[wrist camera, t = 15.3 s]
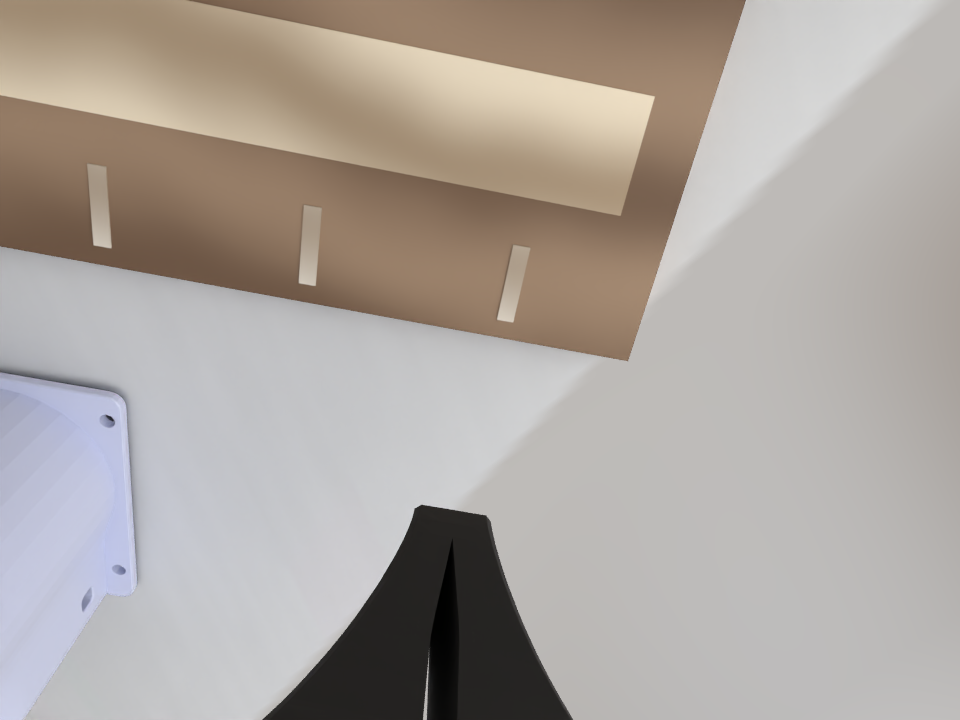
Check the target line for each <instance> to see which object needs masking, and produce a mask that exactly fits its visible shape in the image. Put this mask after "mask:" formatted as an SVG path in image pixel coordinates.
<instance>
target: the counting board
mask: <svg viewBox="0 0 960 720" xmlns="http://www.w3.org/2000/svg"><path fill="white" fill-rule="evenodd" d="M745 1H746V0H0V246H2V247H7V248H13V249H18V250H24V251H29V252H35V253H40V254H45V255H51V256H56V257H62V258H67V259H73V260H78V261H84V262H89V263H95V264H100V265H106V266H111V267H117V268H122V269H127V270H133V271H138V272H144V273H149V274H155V275H160V276H166V277H171V278H177V279H182V280H188V281H193V282H198V283H204V284H209V285H215V286H220V287H226V288H231V289H237V290H242V291H248V292H253V293H259V294H264V295H270V296H275V297H280V298H286V299H291V300H297V301H302V302H308V303H313V304H319V305H324V306H330V307H335V308H341V309H346V310H351V311H357V312H362V313H368V314H373V315H379V316H384V317H390V318H395V319H401V320H406V321H412V322H417V323H423V324H428V325H433V326H439V327H444V328H450V329H455V330H461V331H466V332H472V333H477V334H483V335H488V336H494V337H499V338H504V339H510V340H515V341H521V342H526V343H532V344H537V345H543V346H548V347H554V348H559V349H565V350H570V351H576V352H581V353H586V354H592V355H597V356H603V357H608V358H614V359H619V360H626V361H628V359H629V356H630V353H631V350H632V347H633V344H634V341H635V337H636V334H637V332H638V329H639V325H640V322H641V319H642V316H643V313H644V310H645V307H646V304H647V301H648V298H649V295H650V292H651V289H652V286H653V283H654V280H655V277H656V274H657V270H658V267H659V264H660V261H661V258H662V255H663V252H664V249H665V246H666V243H667V240H668V237H669V234H670V231H671V228H672V225H673V222H674V218H675V215H676V212H677V209H678V206H679V203H680V200H681V197H682V194H683V191H684V188H685V185H686V182H687V179H688V176H689V173H690V170H691V166H692V163H693V160H694V157H695V154H696V151H697V148H698V145H699V142H700V139H701V136H702V133H703V130H704V127H705V124H706V121H707V117H708V114H709V111H710V108H711V105H712V102H713V99H714V96H715V93H716V90H717V87H718V84H719V81H720V78H721V75H722V72H723V69H724V65H725V62H726V59H727V56H728V53H729V50H730V47H731V44H732V41H733V38H734V35H735V32H736V29H737V26H738V23H739V20H740V17H741V13H742V10H743V7H744V4H745Z"/></svg>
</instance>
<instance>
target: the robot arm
mask: <svg viewBox="0 0 960 720" xmlns="http://www.w3.org/2000/svg"><path fill="white" fill-rule="evenodd" d="M106 415H108V416H111V417H112V418H113V419H114V421H111V420H109V419H108V418H107V417H106ZM122 566H123V567H122ZM136 587H137V572H136V556H135V540H134V524H133V508H132V492H131V476H130V460H129V444H128V428H127V412H126V404H125V401H124V400H123V399H122V397H121V396H119V395H118V394H116V393H114V392H111V391H105V390H99V389H93V388H88V387H82V386H76V385H70V384H64V383H59V382H53V381H47V380H41V379H36V378H30V377H24V376H18V375H12V374H7V373H1V372H0V720H24V718H25V717H26V715H27V714H28V712H29V711H30V709H31V708H32V706H33V705H34V703H35V702H36V700H37V699H38V697H39V696H40V694H41V693H42V691H43V689H44V688H45V686H46V685H47V683H48V682H49V680H50V679H51V677H52V676H53V674H54V673H55V671H56V670H57V668H58V667H59V665H60V664H61V662H62V661H63V659H64V657H65V656H66V654H67V653H68V651H69V650H70V648H71V647H72V645H73V644H74V642H75V641H76V639H77V638H78V636H79V635H80V633H81V632H82V630H83V628H84V627H85V625H86V624H87V622H88V621H89V619H90V618H91V616H92V615H93V613H94V612H95V610H96V609H97V607H98V606H99V604H100V603H101V601H102V599H103V598H104V596H105V595H106V594H109V595H116V596H129V595H131V594H132V593H133V592H134V590H135V588H136ZM428 657H429V674H428V705H427V720H573V719H572V717H571V715H570V714H569V712H568V710H567V709H566V707H565V705H564V704H563V702H562V700H561V698H560V697H559V695H558V693H557V691H556V690H555V688H554V686H553V684H552V682H551V681H550V679H549V677H548V675H547V673H546V671H545V669H544V667H543V665H542V663H541V661H540V659H539V657H538V655H537V653H536V651H535V649H534V647H533V645H532V643H531V640H530V638H529V636H528V634H527V631H526V629H525V627H524V625H523V622H522V620H521V617H520V615H519V613H518V610H517V607H516V605H515V602H514V600H513V597H512V594H511V592H510V589H509V587H508V584H507V581H506V578H505V575H504V572H503V569H502V566H501V563H500V559H499V556H498V552H497V549H496V545H495V541H494V537H493V532H492V527H491V522H490V520H489V519H488V518H487V516H485V515H479V514H473V513H467V512H461V511H455V510H450V509H444V508H438V507H432V506H426V505H421V506H419V507H417V508H415V510H414V514H413V518H412V521H411V523H410V526H409V529H408V531H407V533H406V535H405V538H404V540H403V542H402V544H401V546H400V547H399V549H398V551H397V553H396V555H395V557H394V559H393V560H392V562H391V564H390V565H389V567H388V569H387V570H386V572H385V574H384V575H383V577H382V579H381V580H380V582H379V584H378V585H377V587H376V588H375V590H374V591H373V593H372V594H371V596H370V597H369V598H368V600H367V601H366V603H365V604H364V606H363V607H362V608H361V610H360V611H359V613H358V614H357V616H356V617H355V618H354V620H353V621H352V622H351V624H350V625H349V626H348V628H347V629H346V630H345V631H344V633H343V634H342V635H341V636H340V638H339V639H338V640H337V641H336V643H335V644H334V645H333V646H332V647H331V649H330V650H329V651H328V652H327V653H326V655H325V656H324V657H323V658H322V659H321V660H320V662H319V663H318V664H317V665H316V666H315V667H314V668H313V669H312V670H311V671H310V672H309V674H308V675H307V676H306V677H305V678H304V679H303V680H302V681H301V682H300V683H299V685H298V686H297V687H296V688H295V689H294V690H293V691H292V692H291V693H290V694H289V695H288V696H287V697H286V698H285V699H284V700H283V701H282V702H281V703H280V704H279V705H278V706H277V707H276V708H274V709H273V710H272V711H271V712H270V713H269V714H268V715H267V716H266V717H265V718H264V719H263V720H423V711H424V701H425V700H424V699H425V689H426V678H427V667H428Z"/></svg>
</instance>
